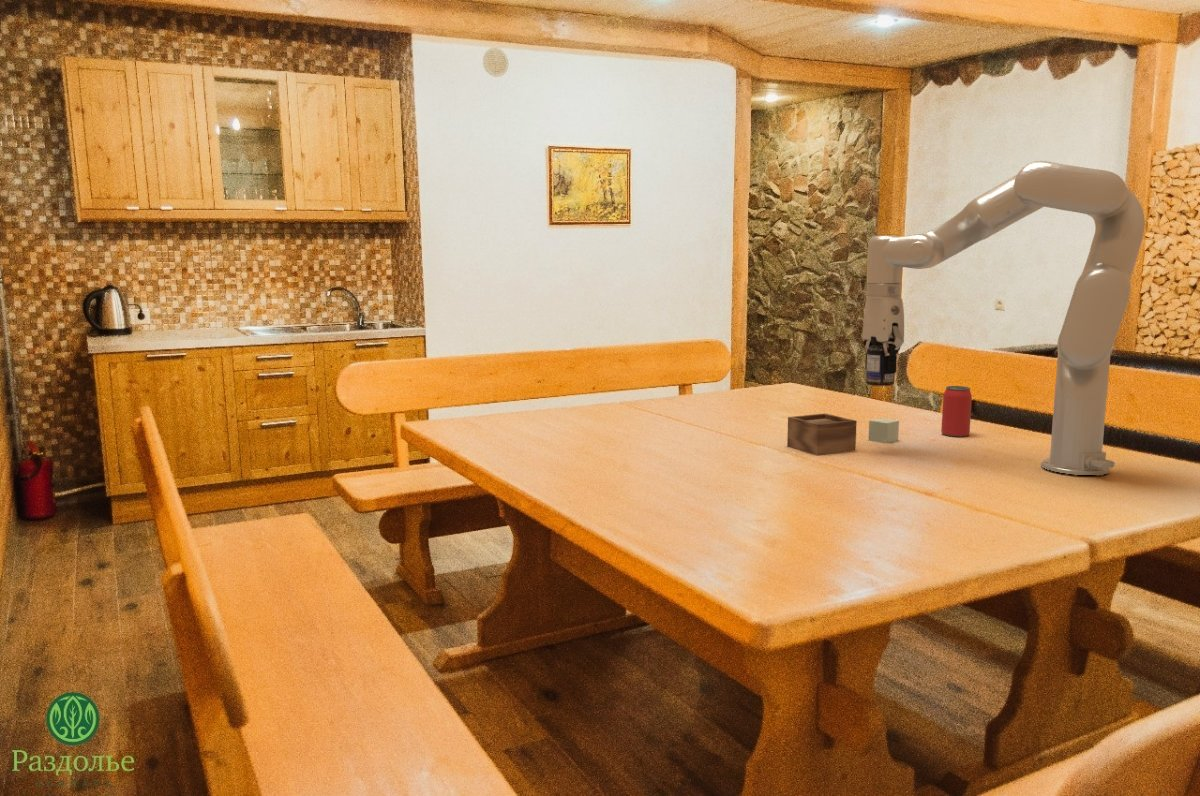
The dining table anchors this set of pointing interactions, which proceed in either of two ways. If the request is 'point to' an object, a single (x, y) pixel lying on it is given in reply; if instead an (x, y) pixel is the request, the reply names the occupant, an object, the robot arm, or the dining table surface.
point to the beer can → (956, 411)
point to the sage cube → (883, 430)
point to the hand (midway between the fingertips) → (880, 370)
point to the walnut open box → (821, 434)
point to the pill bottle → (877, 365)
